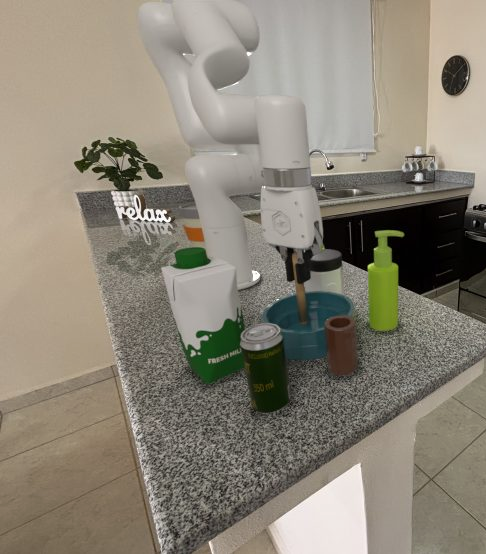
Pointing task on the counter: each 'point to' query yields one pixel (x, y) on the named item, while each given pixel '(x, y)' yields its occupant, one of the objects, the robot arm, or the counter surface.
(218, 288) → the milk carton
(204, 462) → the counter surface
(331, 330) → the utensil cup
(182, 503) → the counter surface
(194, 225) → the reusable coffee cup
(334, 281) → the jar
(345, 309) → the bowl
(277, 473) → the counter surface
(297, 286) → the stick
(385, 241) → the soap dispenser
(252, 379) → the beer can
